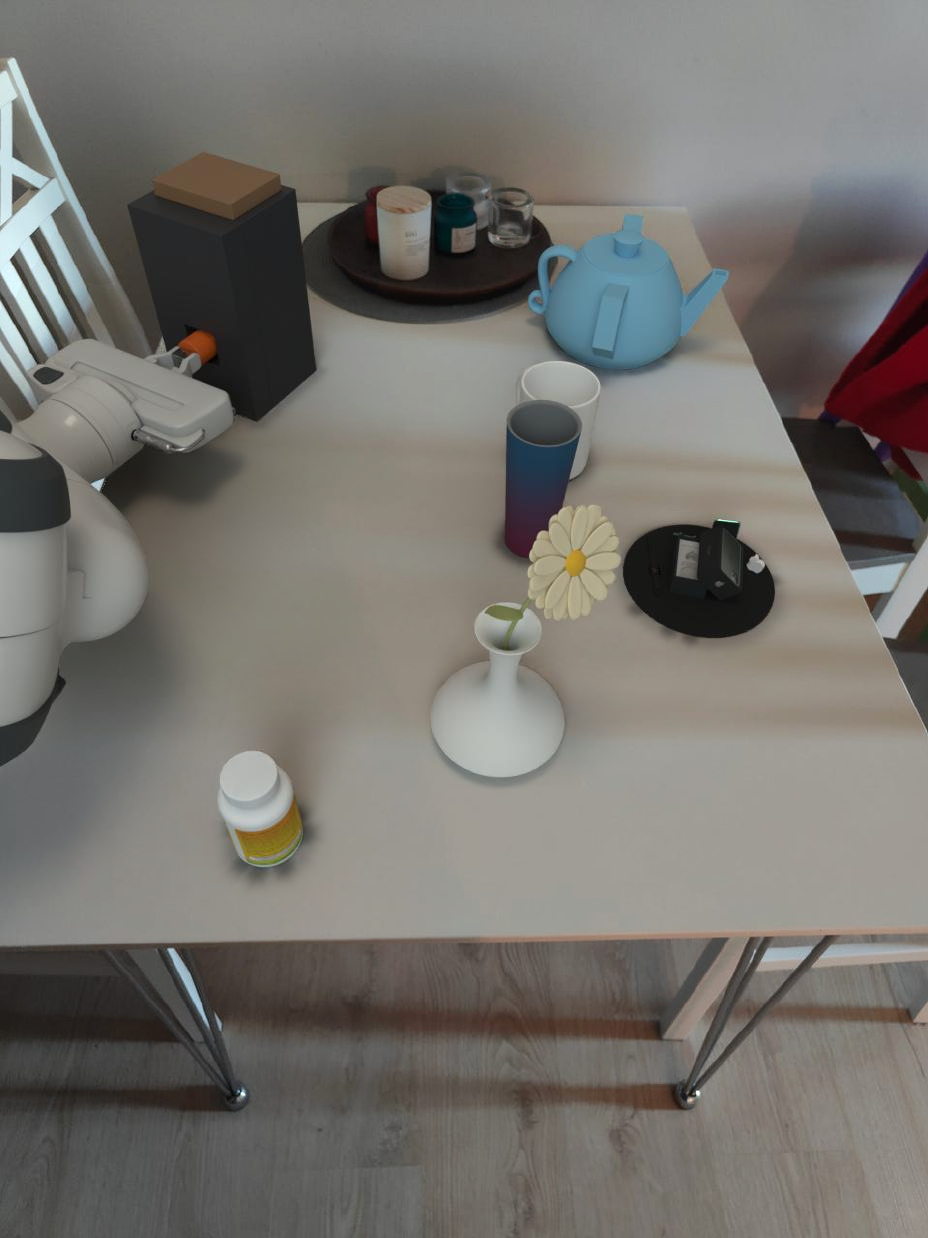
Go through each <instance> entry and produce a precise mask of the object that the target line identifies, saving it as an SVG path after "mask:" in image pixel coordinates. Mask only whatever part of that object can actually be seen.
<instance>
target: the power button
mask: <svg viewBox="0 0 928 1238" xmlns="http://www.w3.org/2000/svg"><path fill="white" fill-rule="evenodd" d="M178 347H181V348H184V349H186V350H188V351H191V352H194V353H197V354H199V355H200V359H201V363H202V365H203V364H205V363H206V362H207V361H209V360H210V359H211V358H213V357H214V356H215V355H217V354H218V353H217V349H216V344H215V339H214V337H213V335H212V334H210V333H207V332H205V331H202V330H199V329H198V330H196V331H195V332H194V333H192V334H191V335H189V336H188V337H187V338H185V339H184V340H182V341H181V342H180V343H179V345H178ZM202 365H201V366H202Z"/></svg>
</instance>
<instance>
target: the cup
mask: <svg viewBox="0 0 928 1238" xmlns="http://www.w3.org/2000/svg"><path fill="white" fill-rule="evenodd" d="M581 430H582V422H581V419H580V417H579V416H578V414H577V413H576V412H575V411H574V410H572V409H571V408H569V407H568V406H566V405H564V404H561V403H558V402H555V401H550V400H531V401H527V402H524V403H521V404H519V405H517V404H516V405H515V406H514V407H513V408H512V409H511V410H510V411H509V412H508V414H507V416H506V430H505V431H506V439H505V440H506V441H505V497H504V499H505V500H504V501H505V506H504V543H505V546H506V547H507V549H508V550H509V551H510V552H512V553H513V554H515V555H516V556H519V557H522V558H527V559H529V554H530V551H531V549H532V548H533V544H534V542H535V541H536V539H537V535H538V533H539V532H541V531H547V532H549V521H550V519H551V517H552V516H554V515H558V512H559V511H560V510H561V509H562V508H563V505H564V501H565V497H566V493H567V490H568V485H569V482H570V480H569V478H570V474H571V470H572V466H573V462H574V458H575V454H576V450H577V446H578V442H579V438H580V434H581Z"/></svg>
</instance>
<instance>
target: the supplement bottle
mask: <svg viewBox="0 0 928 1238" xmlns="http://www.w3.org/2000/svg"><path fill="white" fill-rule="evenodd" d="M216 803H217V808H218V812H219V815H220V817H221V820H222V821H223V824H224V827H225V829H226V831H227V834H228V836H229V839H230V842H231V844H232V846H233V848H234V850H235V852H236V854H237V855H238V857H239V858H240V859H241V860H242V861H243V862H245V863H247V864H249V865H251V866H254V867H259V868H269V867H274V866H278V865H280V864H282V863H284V862H286V861H287V860H288V859H290V858H291V857H292V856H293V855H294V854H295V853H296V851H297V850H298V849H299V847H300V845H301V843H302V840H303V834H304V827H303V821H302V817H301V813H300V810H299V807H298V802H297V799H296V795H295V790H294V787H293V782H292V780H291V778H290V776H289V774H288V773H287V772H286V771H285V770H284V769H283V768H282V767H281V766H279V765H277V763H276V761H275V760H274V758H272V757H271V756H270V755H269V754H267V753H265V752H263V751H259V750H244V751H242V752H238V753H237V754H235V755H233V756H232V757H230V758H229V759H228V760H227V761H226V762H225V763H224V765H223V766H222V768H221V770H220V773H219V787H218V791H217V796H216Z"/></svg>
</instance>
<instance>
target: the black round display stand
mask: <svg viewBox="0 0 928 1238" xmlns="http://www.w3.org/2000/svg"><path fill="white" fill-rule="evenodd" d="M741 525H742V523H741V522H740V520H732V519H724V518H723V519H722V518H715V519H714V520H713V523H712V527H709V526H704V525H698V524H685V523H684V524H683V523H682V524H672V525H665V526H661V527H658V528H654V529H652V530H650V531H648V532H646V533H644V534H643V535H641V536H640V537H638V538H637V539H636V540H635V541H634V542H633V543H632V544H631V546H630V547H629V548H628V550H627V552H626V554H625V558H624V561H623V565H622V576H623V582H624V586H625V588H626V590H627V592H628V594H629V596H630V597H631V599H632V600H633V602H634V603H635V604H636V606H637V607H638V608H639V609H640V610H641V611H642V612H643V613H645V614H646V615H647V616H649V618H651V619H652V620H654V621H655V622H657V623H658V624H659V625H662V626H663V627H666V628H668V629H670V630H673V631H675V632H677V633H680V634H684V635H687V636H692V637H695V638H696V637H697V638H706V639H723V638H730V637H735V636H739V635H742V634H744V633H747V632H749V631H751V630H753V629H754V628H756V627H757V626H759V625H760V624H761V623H762V622H763V621H765V619H766V618H767V616H768V615H769V613H770V612H771V610H772V608H773V605H774V602H775V598H776V587H775V581H774V577H773V575H772V573H771V571H770V569H769V566H768V565H767V564H766V562H765V561H764V560H763V559H762V557H761V556H760V555H759V554H758V553H757V552H756V551H755V550H754V549H753V548H752V547H750V546H749V545H748V544H747V543H745V542H744V541H742V540H740V539H738V538H737V537H738V535H739V532H740V528H741Z"/></svg>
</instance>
